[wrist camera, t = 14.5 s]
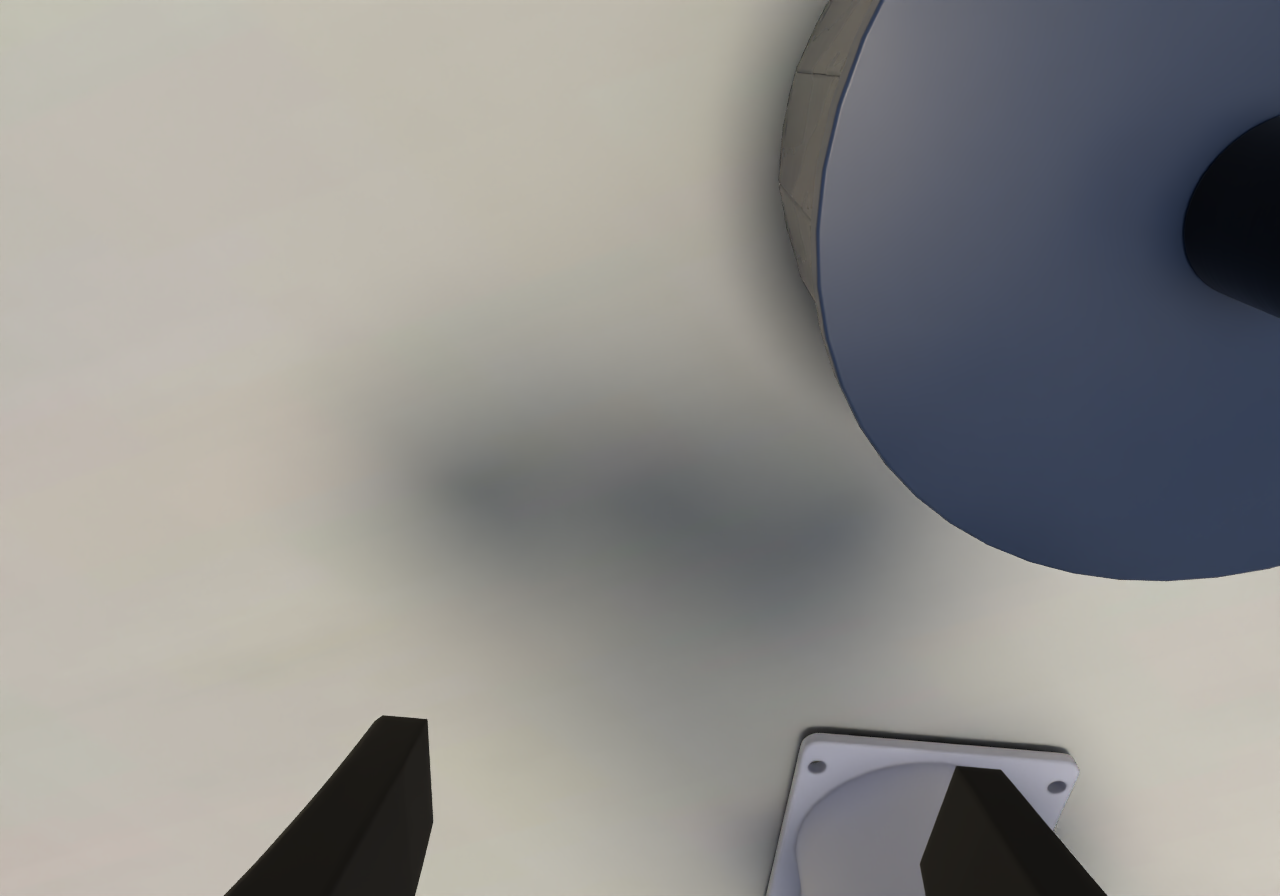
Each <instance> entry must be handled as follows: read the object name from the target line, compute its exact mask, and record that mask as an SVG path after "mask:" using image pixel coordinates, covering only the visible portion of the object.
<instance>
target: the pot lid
mask: <svg viewBox="0 0 1280 896" xmlns="http://www.w3.org/2000/svg"><path fill="white" fill-rule="evenodd" d="M810 228H811V268H812V283H813V290H814V296H815V302H816V308H817V314H818V320H819V326H820V331H821V334H822V337H823V341H824V344H825V347H826V350H827V353H828V357H829V360H830V363H831V366H832V369H833V372H834V376H835V378H836V380H837V382H838V384H839V386H840V388H841V390H842V392H843V394H844V396H845V398H846V400H847V402H848V404H849V406H850V408H851V411H852V413H853V415H854V417H855V419H856V421H857V423H858V425H859V427H860V428H861V430H862V431H863V433H864V434H865V435H866V437H867V438H868V440H869V441H870V443H871V444H872V446H873V447H874V449H875V450H876V451H877V453H878V454H879V456H880V457H881V459H882V460H883V462H884V463H885V464H886V466H887V467H888V468H889V469H890V470H891V471H892V472H893V473H894V474H895V475H896V476H897V477H898V478H899V479H900V480H901V481H902V482H903V484H904V485H905V486H906V487H907V488H908V489H909V490H910V491H911V492H912V493H913V494H914V495H915V496H916V497H917V498H918V499H920V500H921V501H922V502H923V503H925V504H926V505H927V506H929V507H930V508H931V509H932V510H934V511H935V512H936V513H937V514H939V515H940V516H941V517H943V518H944V519H945V520H946V521H948V522H949V523H950V524H952V525H954V526H956V527H957V528H959V529H961V530H963V531H964V532H966V533H968V534H970V535H971V536H973V537H975V538H977V539H978V540H980V541H982V542H984V543H985V544H987V545H989V546H992V547H994V548H997V549H999V550H1002V551H1004V552H1007V553H1009V554H1012V555H1014V556H1017V557H1019V558H1021V559H1024V560H1026V561H1029V562H1032V563H1036V564H1040V565H1044V566H1048V567H1051V568H1055V569H1059V570H1063V571H1066V572H1070V573H1075V574H1082V575H1089V576H1096V577H1103V578H1110V579H1118V580H1146V581H1176V580H1190V579H1203V578H1217V577H1223V576H1229V575H1235V574H1241V573H1246V572H1252V571H1258V570H1264V569H1270V568H1273V567H1277V566H1280V0H872V2H871V4H870V6H869V8H868V10H867V12H866V14H865V17H864V19H863V21H862V23H861V25H860V27H859V29H858V31H857V33H856V35H855V37H854V39H853V42H852V45H851V48H850V51H849V53H848V56H847V59H846V62H845V65H844V67H843V70H842V73H841V76H840V79H839V81H838V84H837V87H836V90H835V93H834V96H833V98H832V101H831V104H830V109H829V113H828V117H827V122H826V126H825V131H824V135H823V139H822V144H821V148H820V152H819V157H818V161H817V165H816V175H815V185H814V194H813V204H812V213H811V223H810Z"/></svg>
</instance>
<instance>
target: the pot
mask: <svg viewBox="0 0 1280 896" xmlns="http://www.w3.org/2000/svg"><path fill="white" fill-rule="evenodd" d="M871 2H872V0H830V1H829V3H828V5H827V6H826V8H825V9H824V11H823V13H822V14H821V16H820V18H819V20H818V22H817V24H816V26H815V29H814V31H813V33H812V35H811V37H810V39H809V41H808V44H807V46H806V48H805V50H804V52H803V55H802V58H801V60H800V62H799V64H798V66H797V69H796V71H797V72H796V73H795V75H794V80H793V85H792V88H791V91H790V95H789V100H788V105H787V110H786V115H785V119H784V124H783V132H782V144H781V156H780V175H779V183H780V185H779V189H780V194H781V198H782V203H783V209H784V215H785V221H786V227H787V231H788V234H789V237H790V240H791V243H792V246H793V250H794V253H795V256H796V260H797V264H798V268H799V273H800V277H801V278H802V280H803V283H804V284H805V286H806V288H807V290H808V291H809V293H810V295H811V296H812V298H813V300H814V302H815V296H814V290H813V283H812V268H811V228H810V223H811V213H812V204H813V194H814V185H815V175H816V165H817V161H818V157H819V152H820V148H821V144H822V139H823V135H824V131H825V126H826V122H827V117H828V113H829V109H830V104H831V101H832V98H833V96H834V93H835V90H836V87H837V84H838V81H839V79H840V76H841V73H842V70H843V67H844V65H845V62H846V59H847V56H848V53H849V51H850V48H851V45H852V42H853V39H854V37H855V35H856V33H857V31H858V29H859V27H860V25H861V23H862V21H863V19H864V17H865V14H866V12H867V10H868V8H869V6H870V4H871ZM815 303H816V302H815Z"/></svg>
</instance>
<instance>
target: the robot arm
mask: <svg viewBox="0 0 1280 896" xmlns="http://www.w3.org/2000/svg"><path fill="white" fill-rule="evenodd" d="M813 761H819V762H815V763H813ZM1079 772H1080V770H1079V768H1078V766H1077V764H1076V762H1075V760H1074V759H1073V757H1071V756H1070V755H1068V754H1064V753H1055V752H1043V751H1031V750H1020V749H1008V748H996V747H984V746H972V745H960V744H948V743H936V742H924V741H912V740H900V739H888V738H876V737H864V736H853V735H841V734H829V733H814V734H811V735H808V736H807V737H806V738H804V739H803V741H802V743H801V747H800V751H799V755H798V760H797V764H796V768H795V772H794V777H793V781H792V785H791V790H790V794H789V798H788V803H787V807H786V811H785V816H784V820H783V824H782V829H781V833H780V837H779V842H778V846H777V850H776V855H775V859H774V863H773V868H772V872H771V876H770V880H769V885H768V889H767V893H766V896H1107V895H1106V894H1105V892H1104V891H1103V890H1102V889H1101V888H1100V887H1099V885H1098V884H1097V883H1096V882H1095V881H1094V880H1093V878H1092V877H1091V876H1090V875H1089V874H1088V873H1087V871H1086V870H1085V869H1084V868H1083V867H1082V865H1081V864H1080V863H1079V862H1078V861H1077V860H1076V858H1075V857H1074V856H1073V855H1072V854H1071V852H1070V851H1069V850H1068V849H1067V848H1066V846H1065V845H1064V844H1063V843H1062V842H1061V841H1060V839H1059V838H1058V837H1057V836H1056V835H1055V833H1054V832H1053V830H1054V828H1055V826H1056V824H1057V821H1058V819H1059V817H1060V815H1061V813H1062V811H1063V808H1064V806H1065V804H1066V802H1067V800H1068V798H1069V796H1070V793H1071V791H1072V789H1073V787H1074V785H1075V783H1076V780H1077V778H1078V776H1079ZM432 825H433V809H432V792H431V774H430V756H429V739H428V721H427V719H418V718H407V717H395V716H384V715H383V716H381V717H380V718H378V719H377V720H376V721H375V722H374V723H373V724H372V725H371V727H370V728H369V729H368V731H367V732H366V733H365V735H364V736H363V737H362V738H361V740H360V741H359V742H358V744H357V745H356V746H355V747H354V749H353V750H352V751H351V752H350V754H349V755H348V756H347V757H346V759H345V760H344V761H343V762H342V764H341V765H340V766H339V767H338V768H337V770H336V771H335V772H334V773H333V775H332V776H331V777H330V778H329V779H328V781H327V782H326V783H325V784H324V785H323V787H322V788H321V789H320V790H319V791H318V792H317V794H316V795H315V796H314V797H313V798H312V800H311V801H310V802H309V803H308V804H307V806H306V807H305V808H304V809H303V810H302V811H301V812H300V813H299V815H298V816H297V817H296V818H295V819H294V820H293V821H292V822H291V824H290V825H289V826H288V827H287V828H286V829H285V830H284V831H283V833H282V834H281V835H280V836H279V837H278V838H277V839H276V840H275V842H274V843H273V844H272V845H271V846H270V847H269V848H268V850H267V851H266V852H265V853H264V854H263V855H262V856H261V857H260V858H259V859H258V861H257V862H256V863H255V864H254V865H253V866H252V867H251V868H250V869H249V870H248V871H247V872H246V873H245V874H244V875H243V876H242V877H241V878H240V879H239V880H238V882H237V883H236V884H235V885H234V886H233V887H232V888H231V889H230V890H229V891H228V892H227V893H226V894H225V895H224V896H415V893H416V889H417V886H418V882H419V878H420V874H421V870H422V866H423V862H424V858H425V854H426V850H427V845H428V841H429V837H430V833H431V829H432Z"/></svg>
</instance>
